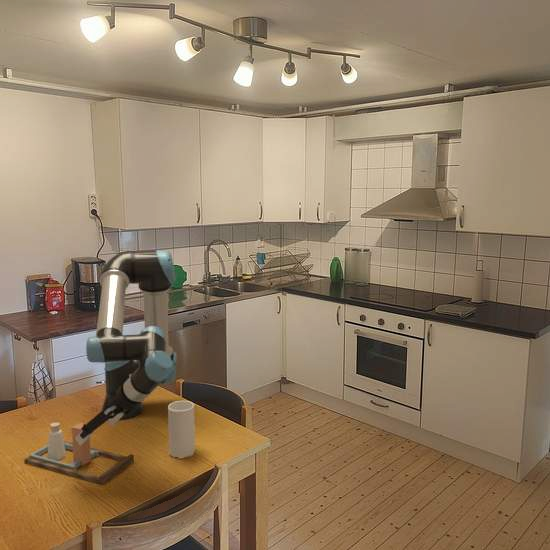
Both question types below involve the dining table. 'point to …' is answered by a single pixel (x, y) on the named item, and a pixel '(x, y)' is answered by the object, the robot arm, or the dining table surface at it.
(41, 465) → the track
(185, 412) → the cup
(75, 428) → the frame
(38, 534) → the dining table surface
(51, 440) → the salt shaker
